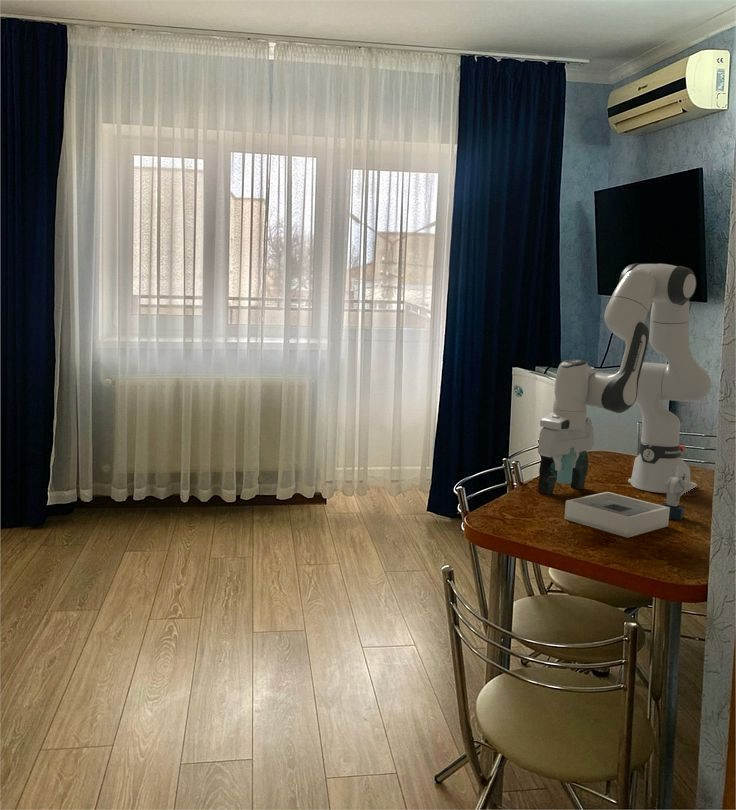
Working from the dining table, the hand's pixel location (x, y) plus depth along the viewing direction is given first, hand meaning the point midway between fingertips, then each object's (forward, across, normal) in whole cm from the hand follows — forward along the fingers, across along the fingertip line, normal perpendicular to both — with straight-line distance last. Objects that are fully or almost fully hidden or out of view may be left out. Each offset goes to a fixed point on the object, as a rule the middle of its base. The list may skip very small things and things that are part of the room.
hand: (565, 469), depth 230 cm
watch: (+12, -21, +21) cm, 32 cm away
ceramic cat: (+12, -17, -14) cm, 25 cm away
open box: (+11, -2, +16) cm, 20 cm away
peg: (+4, 0, 0) cm, 4 cm away
